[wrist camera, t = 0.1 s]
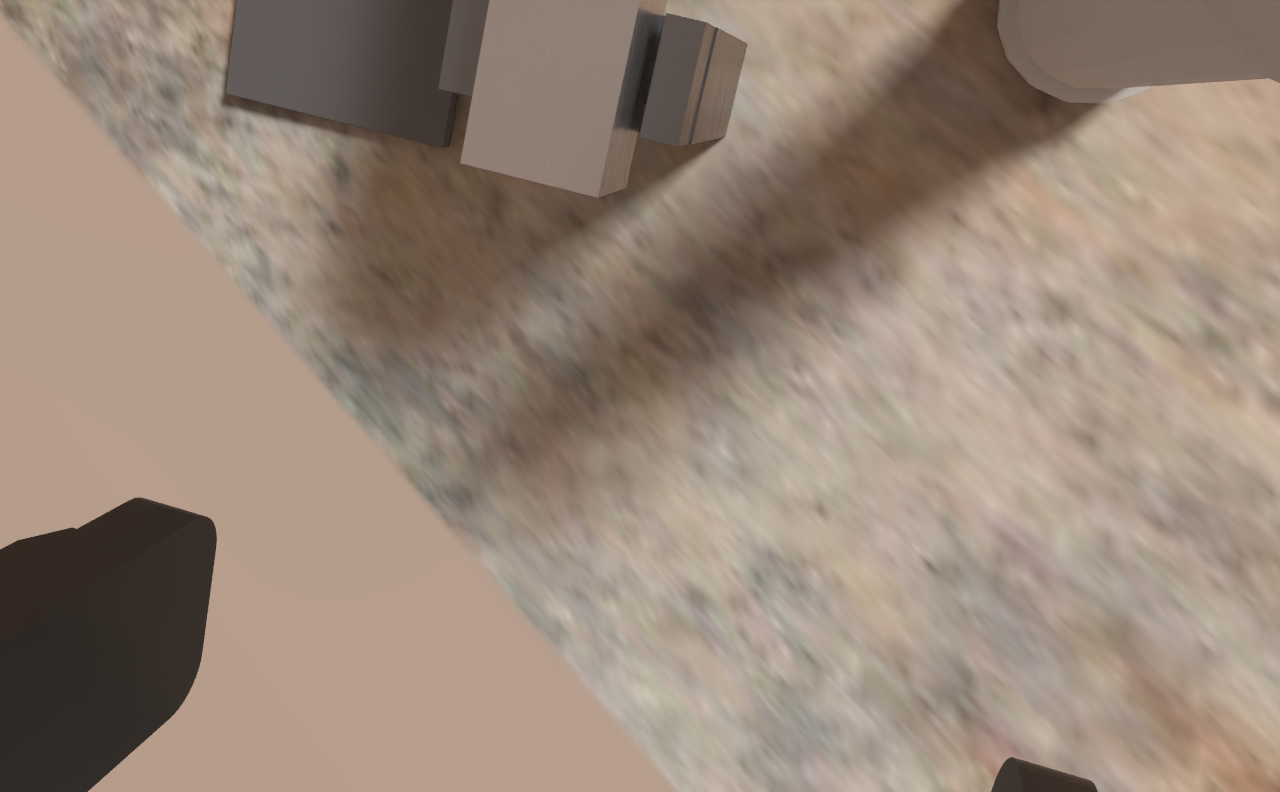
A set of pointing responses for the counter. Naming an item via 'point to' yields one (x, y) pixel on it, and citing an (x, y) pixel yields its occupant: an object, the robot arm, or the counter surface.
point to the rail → (562, 90)
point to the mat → (347, 62)
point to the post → (679, 83)
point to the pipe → (1137, 44)
